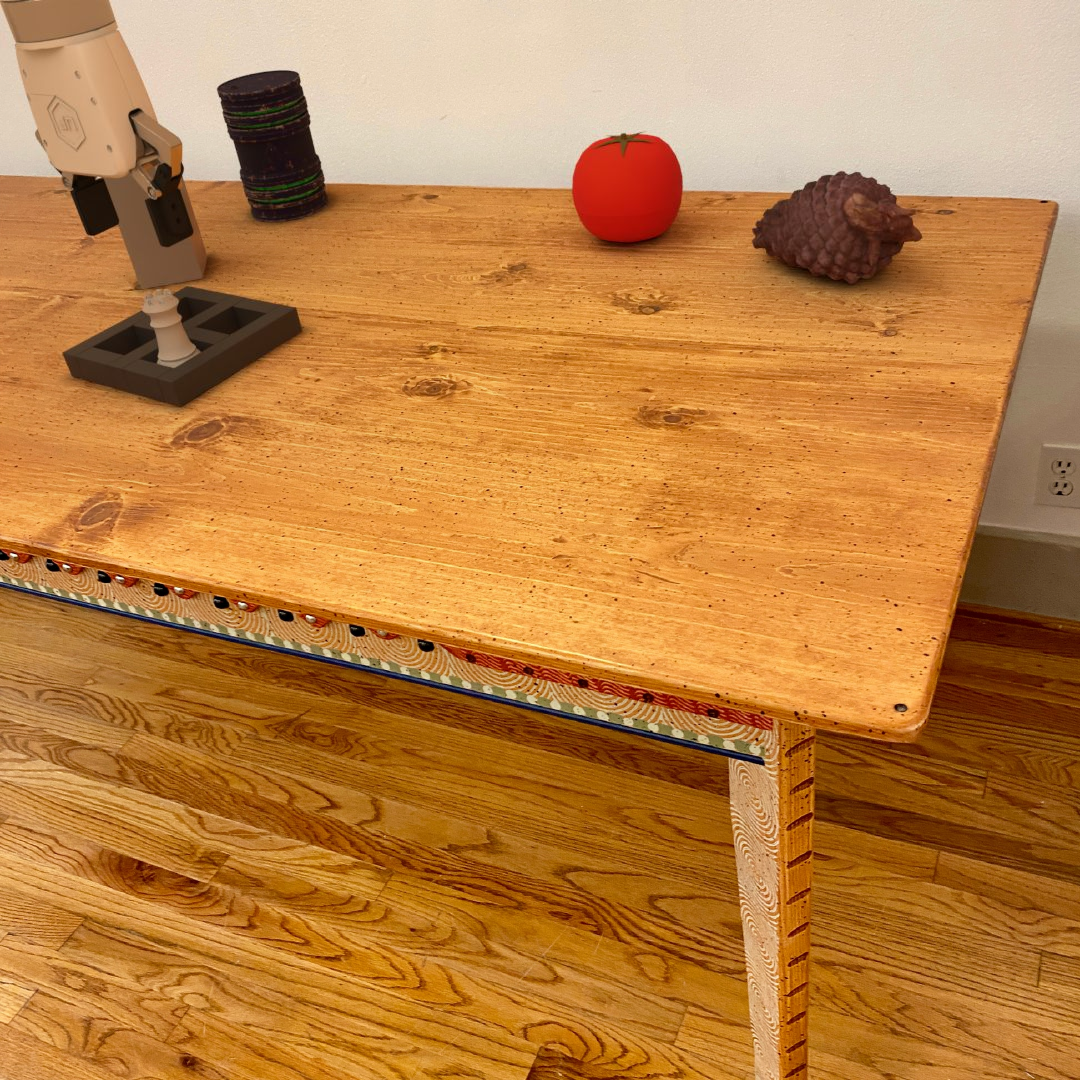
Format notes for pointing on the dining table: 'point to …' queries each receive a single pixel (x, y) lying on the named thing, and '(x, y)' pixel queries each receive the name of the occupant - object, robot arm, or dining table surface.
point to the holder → (208, 323)
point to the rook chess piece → (168, 329)
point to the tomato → (627, 187)
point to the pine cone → (837, 227)
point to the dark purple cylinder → (274, 145)
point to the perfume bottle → (154, 237)
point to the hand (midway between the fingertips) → (140, 235)
